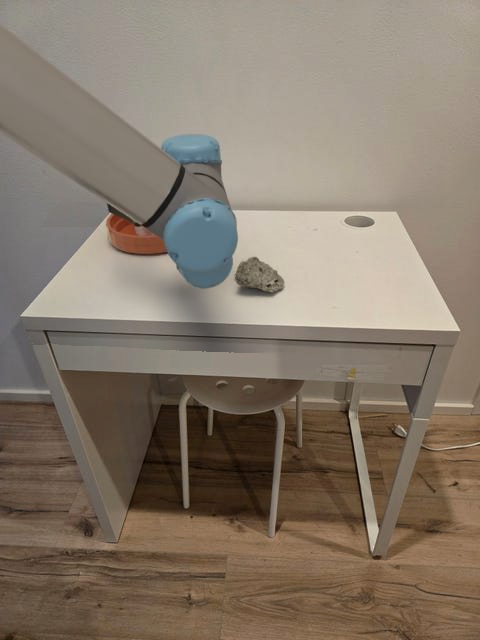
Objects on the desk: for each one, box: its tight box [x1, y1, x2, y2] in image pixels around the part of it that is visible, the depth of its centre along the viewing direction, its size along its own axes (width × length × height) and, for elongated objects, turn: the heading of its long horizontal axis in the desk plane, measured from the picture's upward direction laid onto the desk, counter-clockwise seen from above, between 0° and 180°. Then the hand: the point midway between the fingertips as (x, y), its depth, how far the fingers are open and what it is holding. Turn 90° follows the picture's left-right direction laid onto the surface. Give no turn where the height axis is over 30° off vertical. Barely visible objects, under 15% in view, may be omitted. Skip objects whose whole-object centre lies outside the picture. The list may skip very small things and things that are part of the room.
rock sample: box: [233, 256, 285, 293], centre depth 83 cm, size 10×8×9 cm
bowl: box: [105, 213, 168, 255], centre depth 102 cm, size 21×21×4 cm
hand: (154, 183), depth 87 cm, fingers open, 13 cm apart
